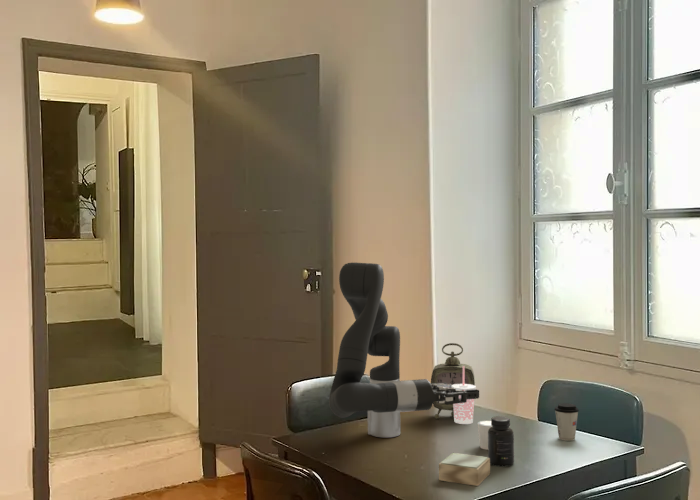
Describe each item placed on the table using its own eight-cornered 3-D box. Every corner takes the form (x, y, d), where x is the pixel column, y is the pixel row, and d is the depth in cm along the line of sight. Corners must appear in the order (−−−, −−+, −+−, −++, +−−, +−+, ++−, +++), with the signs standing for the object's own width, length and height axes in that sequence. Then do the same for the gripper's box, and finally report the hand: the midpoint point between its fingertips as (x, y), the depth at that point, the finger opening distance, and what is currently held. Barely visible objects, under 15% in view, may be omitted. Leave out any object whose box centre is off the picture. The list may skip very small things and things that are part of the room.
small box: (439, 480, 180) (438, 462, 180) (452, 468, 189) (452, 452, 189) (477, 485, 176) (477, 468, 176) (490, 473, 184) (489, 457, 184)
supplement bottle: (485, 459, 196) (484, 415, 196) (509, 458, 197) (509, 414, 197) (492, 467, 190) (491, 421, 189) (517, 466, 190) (517, 420, 190)
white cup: (502, 451, 204) (501, 426, 204) (477, 450, 205) (477, 425, 205) (502, 444, 211) (501, 420, 211) (478, 443, 212) (477, 419, 212)
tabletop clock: (430, 420, 239) (429, 344, 239) (432, 413, 248) (431, 341, 248) (475, 421, 237) (474, 345, 237) (475, 414, 246) (474, 341, 245)
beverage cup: (447, 422, 181) (447, 366, 181) (457, 417, 186) (457, 363, 186) (469, 426, 178) (469, 369, 178) (479, 420, 183) (479, 365, 183)
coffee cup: (553, 440, 214) (553, 406, 214) (555, 434, 220) (555, 401, 220) (578, 442, 211) (577, 408, 211) (580, 436, 217) (579, 403, 217)
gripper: (421, 385, 171) (485, 381, 176) (399, 375, 185) (459, 371, 190) (421, 417, 171) (486, 412, 176) (399, 404, 185) (459, 399, 190)
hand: (472, 391), depth 183 cm, fingers closed on beverage cup, 6 cm apart
